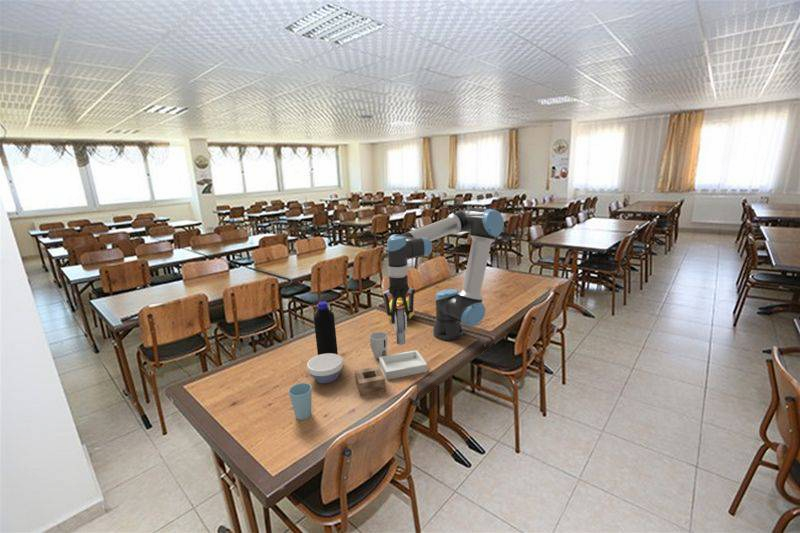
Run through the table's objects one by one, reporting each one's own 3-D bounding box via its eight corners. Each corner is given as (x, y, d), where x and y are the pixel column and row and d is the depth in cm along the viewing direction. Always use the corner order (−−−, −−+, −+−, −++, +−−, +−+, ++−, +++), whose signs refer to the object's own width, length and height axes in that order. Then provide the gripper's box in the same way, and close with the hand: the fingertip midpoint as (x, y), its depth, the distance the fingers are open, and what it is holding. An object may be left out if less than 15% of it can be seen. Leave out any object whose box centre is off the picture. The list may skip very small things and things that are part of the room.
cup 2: (386, 360, 166) (384, 340, 164) (368, 359, 168) (367, 339, 166) (390, 351, 174) (389, 332, 172) (373, 351, 176) (372, 331, 173)
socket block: (379, 377, 153) (379, 366, 152) (385, 390, 144) (384, 378, 143) (355, 381, 151) (354, 370, 150) (359, 395, 141) (358, 383, 140)
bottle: (342, 358, 170) (336, 300, 163) (330, 367, 163) (324, 307, 155) (326, 355, 174) (320, 298, 167) (314, 364, 166) (307, 305, 159)
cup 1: (308, 405, 137) (304, 380, 134) (318, 415, 131) (315, 388, 129) (288, 415, 132) (284, 389, 129) (298, 425, 126) (294, 398, 124)
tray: (417, 356, 168) (417, 350, 168) (427, 371, 156) (427, 364, 155) (379, 363, 164) (378, 356, 163) (386, 379, 151) (386, 372, 150)
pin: (404, 339, 160) (403, 302, 155) (408, 344, 155) (406, 305, 151) (394, 341, 158) (392, 303, 154) (397, 346, 154) (395, 307, 150)
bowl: (327, 391, 145) (325, 374, 143) (301, 382, 152) (299, 365, 151) (351, 374, 157) (350, 357, 155) (325, 365, 164) (324, 350, 162)
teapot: (398, 329, 198) (397, 305, 195) (376, 323, 208) (374, 300, 204) (419, 317, 213) (418, 294, 210) (398, 311, 223) (397, 290, 219)
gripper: (415, 270, 155) (416, 323, 161) (375, 275, 151) (379, 328, 157) (420, 275, 148) (422, 329, 154) (380, 280, 144) (383, 336, 150)
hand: (400, 329), depth 155 cm, fingers closed on pin, 3 cm apart
